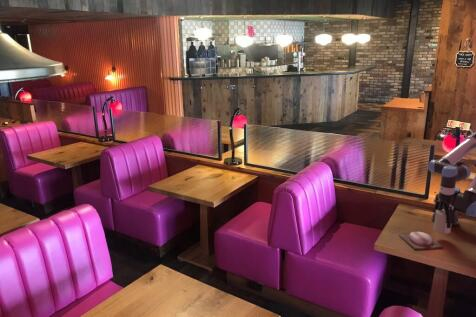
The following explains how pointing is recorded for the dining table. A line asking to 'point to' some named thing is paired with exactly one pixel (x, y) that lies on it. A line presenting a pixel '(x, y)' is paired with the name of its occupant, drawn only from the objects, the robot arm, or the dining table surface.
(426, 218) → the dining table surface
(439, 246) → the stand
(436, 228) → the can
